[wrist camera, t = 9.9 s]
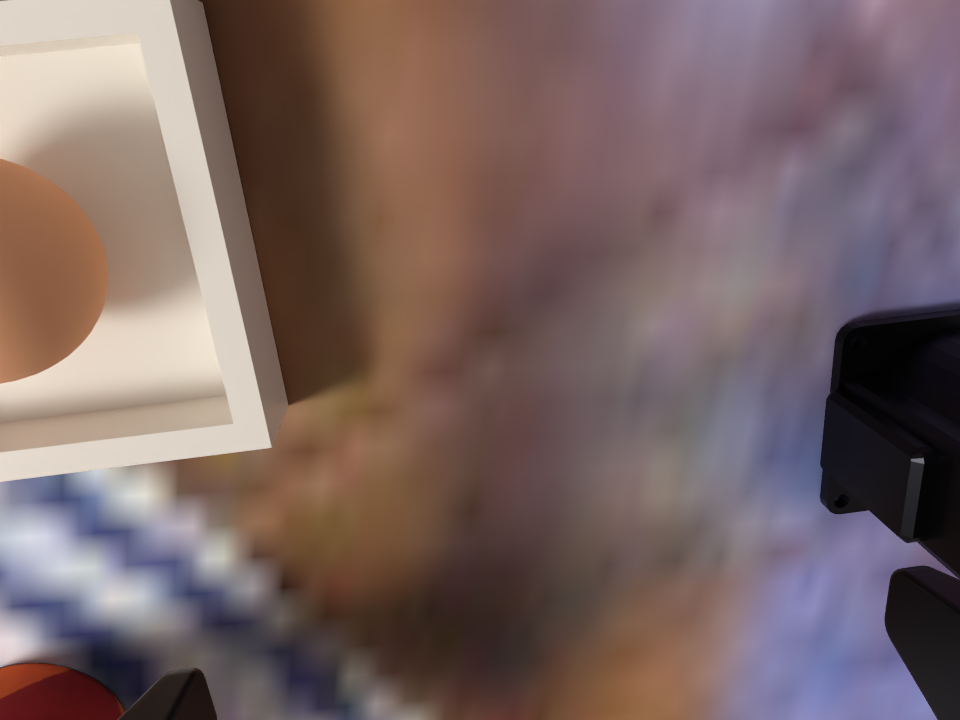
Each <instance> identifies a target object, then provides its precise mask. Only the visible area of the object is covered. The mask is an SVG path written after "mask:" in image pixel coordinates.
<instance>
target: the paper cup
mask: <svg viewBox="0 0 960 720" xmlns="http://www.w3.org/2000/svg"><path fill="white" fill-rule="evenodd" d="M124 713H125V710H124V708H123V706H122V704H121V703H120V701H119V700H118V699H117V697H116V696H115V695H114V694H113V693H112V692H111V691H110V690H109V689H108V688H107V687H105V686H104V685H103V684H101V683H100V682H98V681H97V680H95V679H94V678H92V677H90V676H88V675H86V674H84V673H81V672H79V671H76V670H74V669H70V668H67V667H63V666H58V665H53V664H44V663H24V664H16V665H11V666H6V667H3V668H0V720H118V719H119V718H120V717H121V716H122V715H123V714H124Z"/></svg>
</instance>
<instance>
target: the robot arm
mask: <svg viewBox="0 0 960 720" xmlns="http://www.w3.org/2000/svg"><path fill="white" fill-rule="evenodd" d="M857 335H859V339H858V342H857V343H856V344H855V345H852V346H851V341H852V339H853V338H854V337H855V336H857ZM820 465H821V467H822V468H823V472H822V482H821V492H820V499H821V502H822V504H823V505H824V506H825V507H826V508H827V509H828V510H829V511H830V512H832V513H834V514H845V513H852V512H860V511H867V510H869V511H870V512H871V513H873V514H874V515H875V516H876V517H877V518H878V519H879V520H880V521H881V522H883V523H884V524H885V525H886V526H887V527H888V528H889V529H890V530H891V531H893V532H894V533H895V534H896V535H897V536H898V537H899V538H901V539H902V540H903V541H904V542H906V543H912V542H918V543H919V544H920V545H921V546H922V547H923V548H924V549H926V550H927V551H928V552H929V553H930V554H931V555H932V556H933V557H935V558H936V559H937V560H938V561H939V562H940V563H941V564H943V565H944V566H945V567H946V568H947V569H948V570H949V571H951V572H952V573H953V574H954V575H955V576H956V577H957V578H959V579H960V310H952V311H943V312H935V313H927V314H919V315H910V316H902V317H894V318H886V319H877V320H869V321H861V322H853V323H850V324H846V325H845V326H844V327H842V328H841V329H840V330H839V332H838V333H837V335H836V339H835V347H834V357H833V367H832V378H831V388H830V394H829V395H828V397H827V399H826V409H825V420H824V431H823V441H822V452H821V462H820ZM839 495H842V496H841V497H840V498H839V499H838V500H836V501H835V498H836V497H838V496H839ZM957 578H954V577H952V576H950V575H948V574H945V573H943V572H941V571H938V570H936V569H934V568H931V567H928V566H916V567H908V568H901V569H898V570H895V571H894V572H893V574H892V575H891V578H890V583H889V590H888V597H887V604H886V611H885V627H886V630H887V633H888V636H889V638H890V640H891V641H892V643H893V645H894V647H895V648H896V650H897V652H898V653H899V655H900V657H901V658H902V660H903V662H904V663H905V665H906V667H907V668H908V670H909V672H910V674H911V675H912V677H913V679H914V680H915V682H916V684H917V685H918V687H919V689H920V690H921V692H922V694H923V695H924V697H925V699H926V701H927V702H928V704H929V706H930V707H931V709H932V711H933V712H934V714H935V716H936V717H937V719H938V720H960V580H959V579H957ZM118 720H217V715H216V712H215V709H214V705H213V702H212V699H211V696H210V692H209V689H208V686H207V683H206V679H205V677H204V674H203V673H202V671H201V670H199V669H197V668H191V669H184V670H177V671H171V672H168V673H166V674H164V675H163V676H162V677H160V678H159V679H158V680H157V681H156V682H155V683H154V684H153V685H152V686H151V687H150V688H149V689H148V690H147V691H146V692H145V693H144V694H143V695H142V696H141V697H140V698H139V699H138V700H137V701H136V702H135V703H134V704H133V705H132V706H131V707H130V708H129V709H128V710H127V711H126V712H125V713H124V714H123V715H122V716H121V717H120V718H119V719H118Z"/></svg>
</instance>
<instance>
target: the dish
mask: <svg viewBox="0 0 960 720" xmlns="http://www.w3.org/2000/svg"><path fill="white" fill-rule="evenodd" d="M0 159H4V160H7V161H10V162H13V163H16V164H19V165H21V166H23V167H25V168H28V169H30V170H32V171H34V172H36V173H38V174H39V175H41V176H43V177H44V178H46V179H48V180H49V181H51V182H53V183H54V184H55V185H57V186H58V187H59V188H61V189H62V190H63V191H65V192H66V193H67V194H68V195H69V196H70V197H71V198H72V199H73V200H74V201H75V202H76V203H77V204H78V205H79V206H80V208H81V209H82V210H83V211H84V212H85V213H86V215H87V216H88V218H89V219H90V221H91V222H92V224H93V225H94V227H95V229H96V231H97V233H98V235H99V237H100V240H101V242H102V245H103V248H104V251H105V255H106V260H107V266H108V288H107V295H106V300H105V304H104V307H103V310H102V312H101V315H100V317H99V319H98V321H97V323H96V324H95V326H94V328H93V330H92V331H91V333H90V334H89V335H88V337H87V338H86V339H85V340H84V341H83V343H82V344H81V345H80V346H79V347H78V348H77V349H75V350H74V351H73V352H72V353H71V354H70V355H69V356H68V357H66V358H65V359H63V360H62V361H60V362H59V363H57V364H55V365H54V366H52V367H50V368H48V369H46V370H44V371H42V372H40V373H38V374H35V375H32V376H29V377H26V378H23V379H20V380H17V381H12V382H7V383H2V384H0V482H2V481H10V480H18V479H26V478H34V477H42V476H50V475H58V474H66V473H74V472H82V471H90V470H98V469H106V468H114V467H122V466H130V465H138V464H146V463H154V462H162V461H170V460H178V459H186V458H194V457H202V456H210V455H218V454H226V453H233V452H241V451H249V450H257V449H265V448H272V446H273V443H274V441H275V438H276V436H277V433H278V431H279V428H280V426H281V423H282V421H283V419H284V416H285V414H286V411H287V409H288V401H287V397H286V392H285V387H284V382H283V378H282V373H281V368H280V364H279V359H278V354H277V350H276V345H275V340H274V335H273V331H272V326H271V321H270V317H269V312H268V307H267V303H266V298H265V293H264V288H263V284H262V279H261V274H260V270H259V265H258V260H257V256H256V251H255V246H254V241H253V237H252V232H251V227H250V223H249V218H248V213H247V209H246V204H245V199H244V194H243V190H242V185H241V180H240V176H239V171H238V166H237V161H236V157H235V152H234V147H233V143H232V138H231V133H230V129H229V124H228V119H227V114H226V110H225V105H224V100H223V96H222V91H221V86H220V82H219V77H218V72H217V67H216V63H215V58H214V53H213V49H212V44H211V39H210V35H209V30H208V25H207V20H206V16H205V11H204V6H203V2H200V1H198V0H6V1H0Z"/></svg>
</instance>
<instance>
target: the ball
mask: <svg viewBox="0 0 960 720" xmlns="http://www.w3.org/2000/svg"><path fill="white" fill-rule="evenodd" d="M107 288H108V266H107V260H106V255H105V251H104V248H103V245H102V242H101V240H100V237H99V235H98V233H97V231H96V229H95V227H94V225H93V224H92V222H91V221H90V219H89V218H88V216H87V215H86V213H85V212H84V211H83V210H82V209H81V208H80V206H79V205H78V204H77V203H76V202H75V201H74V200H73V199H72V198H71V197H70V196H69V195H68V194H67V193H66V192H65V191H63V190H62V189H61V188H59V187H58V186H57V185H55V184H54V183H53V182H51V181H49V180H48V179H46V178H44V177H43V176H41V175H39V174H38V173H36V172H34V171H32V170H30V169H28V168H25V167H23V166H21V165H19V164H16V163H13V162H10V161H7V160H4V159H0V384H2V383H7V382H12V381H17V380H20V379H23V378H26V377H29V376H32V375H35V374H38V373H40V372H42V371H44V370H46V369H48V368H50V367H52V366H54V365H55V364H57V363H59V362H60V361H62V360H63V359H65V358H66V357H68V356H69V355H70V354H71V353H72V352H73V351H74V350H75V349H77V348H78V347H79V346H80V345H81V344H82V343H83V341H84V340H85V339H86V338H87V337H88V335H89V334H90V333H91V331H92V330H93V328H94V326H95V324H96V323H97V321H98V319H99V317H100V315H101V312H102V310H103V307H104V304H105V300H106V295H107Z"/></svg>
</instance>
